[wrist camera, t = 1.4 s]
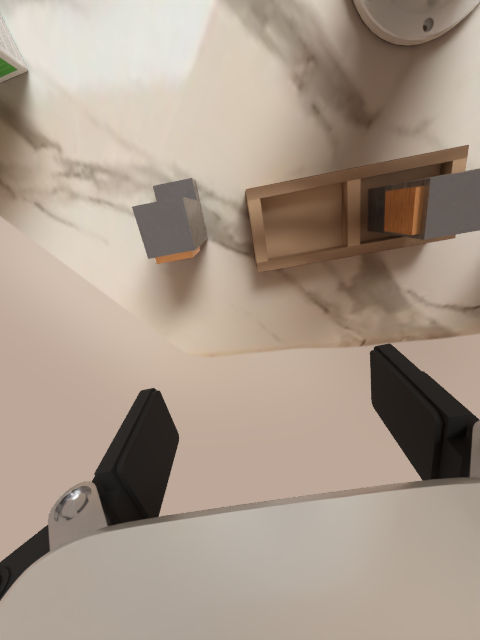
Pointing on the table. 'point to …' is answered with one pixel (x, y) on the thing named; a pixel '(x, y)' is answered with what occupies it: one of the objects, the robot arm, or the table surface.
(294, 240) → the wooden divided tray
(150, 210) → the finger
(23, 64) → the skincare box
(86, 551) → the robot arm
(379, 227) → the twin finger
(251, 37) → the table surface
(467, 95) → the table surface
